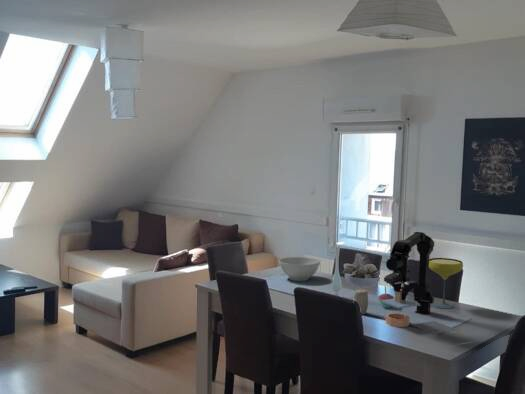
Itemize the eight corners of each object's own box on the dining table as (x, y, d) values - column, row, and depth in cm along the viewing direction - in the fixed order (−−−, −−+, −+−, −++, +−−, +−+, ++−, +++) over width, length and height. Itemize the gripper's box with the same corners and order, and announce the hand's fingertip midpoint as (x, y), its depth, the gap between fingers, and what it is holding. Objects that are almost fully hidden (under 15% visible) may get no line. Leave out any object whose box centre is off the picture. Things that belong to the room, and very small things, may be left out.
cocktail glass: (468, 307, 299) (469, 262, 297) (447, 312, 289) (449, 265, 287) (440, 299, 314) (441, 256, 312) (419, 304, 304) (421, 259, 302)
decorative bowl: (270, 279, 359) (271, 261, 358) (292, 272, 380) (292, 255, 380) (306, 285, 343) (306, 266, 342) (326, 278, 365) (327, 260, 364)
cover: (401, 298, 275) (401, 287, 275) (419, 305, 264) (420, 293, 263) (380, 301, 269) (381, 290, 269) (398, 308, 258) (399, 296, 257)
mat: (434, 321, 273) (434, 320, 273) (457, 330, 259) (457, 329, 259) (410, 325, 266) (410, 324, 266) (433, 335, 253) (433, 334, 253)
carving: (367, 315, 282) (368, 292, 281) (353, 314, 284) (353, 291, 283) (367, 311, 289) (368, 289, 288) (353, 310, 290) (353, 288, 289)
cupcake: (390, 309, 293) (391, 287, 292) (375, 307, 297) (376, 285, 296) (396, 306, 300) (396, 284, 299) (381, 303, 305) (381, 282, 304)
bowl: (398, 319, 275) (399, 312, 275) (414, 326, 265) (414, 318, 265) (381, 322, 270) (381, 314, 270) (396, 329, 261) (396, 320, 260)
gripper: (375, 265, 270) (374, 296, 271) (401, 272, 253) (400, 306, 254) (393, 263, 275) (392, 294, 276) (420, 270, 258) (418, 303, 260)
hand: (400, 299), depth 266 cm, fingers closed on cover, 4 cm apart
